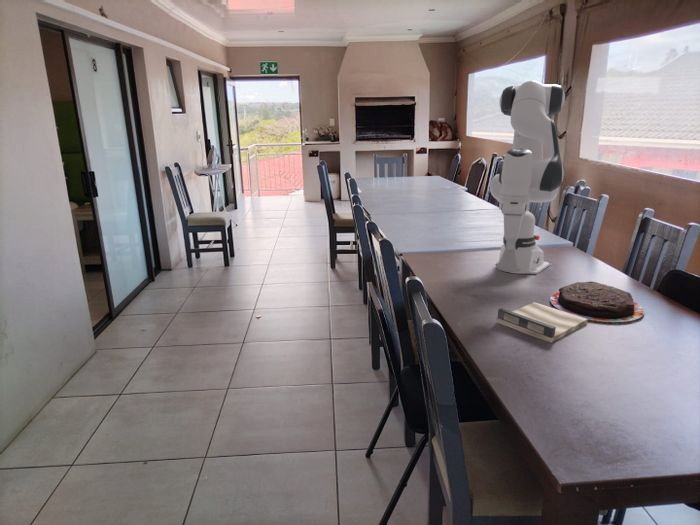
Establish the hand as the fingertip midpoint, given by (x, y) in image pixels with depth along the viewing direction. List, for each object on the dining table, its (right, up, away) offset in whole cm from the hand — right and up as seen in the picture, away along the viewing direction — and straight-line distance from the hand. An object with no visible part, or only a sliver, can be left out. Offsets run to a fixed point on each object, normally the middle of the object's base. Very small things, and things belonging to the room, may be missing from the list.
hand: (510, 247), depth 150 cm
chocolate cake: (+31, -20, +9) cm, 38 cm away
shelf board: (+9, -23, -3) cm, 25 cm away
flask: (0, -7, +2) cm, 8 cm away
